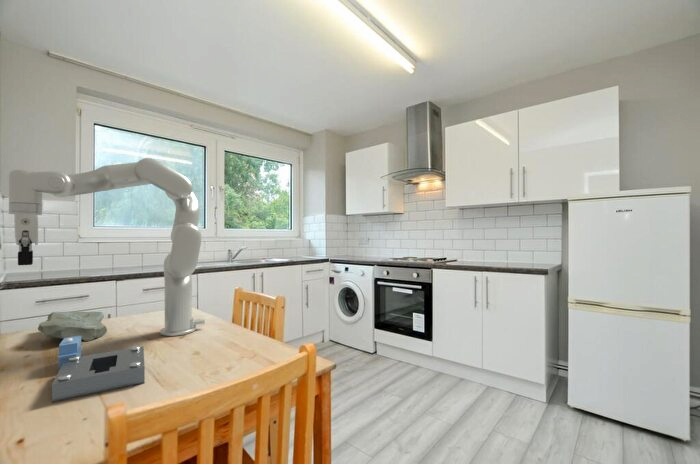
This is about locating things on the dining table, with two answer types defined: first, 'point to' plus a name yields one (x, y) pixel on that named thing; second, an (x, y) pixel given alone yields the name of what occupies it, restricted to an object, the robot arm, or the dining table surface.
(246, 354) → the dining table surface
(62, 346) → the servo
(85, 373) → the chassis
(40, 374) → the dining table surface
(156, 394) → the dining table surface
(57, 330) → the stone
